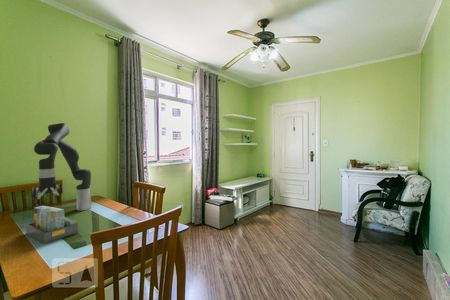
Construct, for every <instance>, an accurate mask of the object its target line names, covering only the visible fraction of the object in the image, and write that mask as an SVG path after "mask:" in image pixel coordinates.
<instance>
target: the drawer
mask: <svg viewBox="0 0 450 300" xmlns="http://www.w3.org/2000/svg"><path fill="white" fill-rule="evenodd" d="M78 224H79V223H77V222H76V220H74V219H72V218H69V217H67V216H64V228H60V229H57V230H54V231H50V232H47V233H45V232H43V231H41V230H39V229H37V228H35V227H34V222H31V223H26V224H25V234H26V235H28V236H30V237H32V238H33V239H35V240H37V241H38V242H40V243H42V244H44V245H45V244H49V243H51V242H54V241H58V240H61V239H63V238H66V237H70V236H73V235H75V234H78V233H79V229H78V228H79V225H78Z"/></svg>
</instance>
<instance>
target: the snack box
mask: <svg viewBox="0 0 450 300" xmlns="http://www.w3.org/2000/svg"><path fill="white" fill-rule="evenodd" d="M64 217H65V209H64V208H58V207H52V206H47V205H39V206H36V207H33V223H34V227H35V228H37V229H39V230H41V231H43V232H45V233H47V232H50V231H54V230H57V229H60V228H64Z"/></svg>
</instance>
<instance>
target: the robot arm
mask: <svg viewBox="0 0 450 300" xmlns="http://www.w3.org/2000/svg"><path fill="white" fill-rule="evenodd" d="M47 131H48V133H49V134H48V135H47V136H46V137H45V138H44V139H42V140H40V141H38V142H37V143H35V145H34V148H33V151H34V153H35V154H37V155H39V156H40V155H41V156H42V155H43V156H47V155H49V156H47V157H46V158H41V159H39V161H38V187H32V188H31V196H30V197H31V199H34V200H35V204H36V205H37V206H41V198H42V196H44V194H45V195H46V194H51V193H53V194H54V201H55V202H56V203H57V202H59V200H60V195H62V194H64V193H63V191H64V190H63V184H62V183H61V184H60V183H58V184H56V170H55V169H56V167H55V166H56V165H55V161H56V156H57V153H58V150H59V151H60V152H61V154H62V157H64V160H65V161H66V163H67V165H68V166H69V169H70V171H71V174H72V176H73V178H74V180H76V181H81V184H78V185H77V184H76V186H75V189H76V192H75V193H76V210H77V211H79V212H80V211H86V210H89V209H92V196H91V188H90V187H91V184H92V183H91V181H92V176H91V175H92V173H91V171H90V169H87V168H86V169H85V168H80V166H79V164H78V163H79V160H80V154H79V152H78V150H77V149H76V147H75V146H73V145H71V144H70V143H68V142H66V141H65V140H64V139H65V137H67V136H68V135H70V128H69V125H68V124H67V123H65V122H59V123H54V124H53V123H52V124H49V125H48V126H47ZM56 188H57V190H55V189H56ZM38 190H39V192H38ZM37 192H38V193H37Z"/></svg>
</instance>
